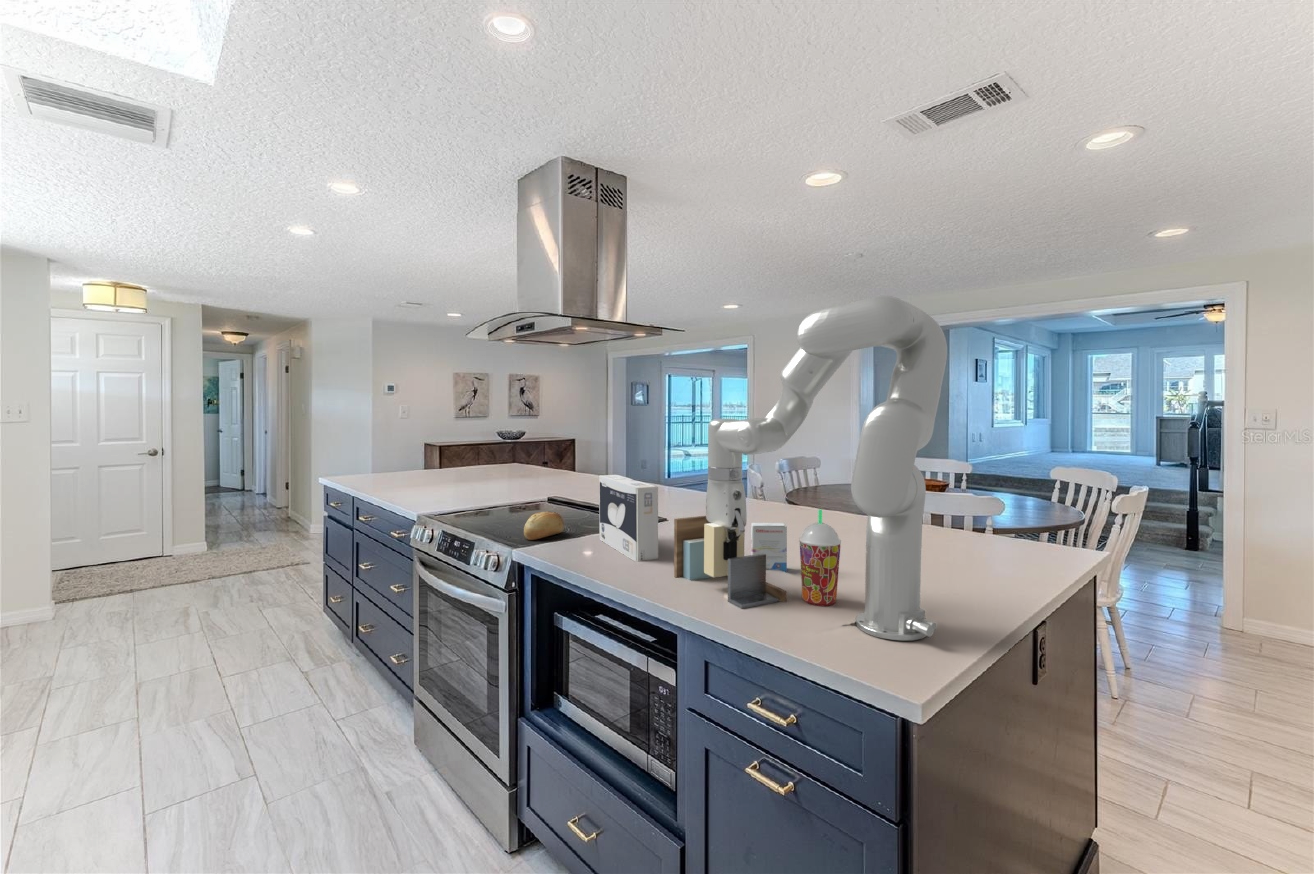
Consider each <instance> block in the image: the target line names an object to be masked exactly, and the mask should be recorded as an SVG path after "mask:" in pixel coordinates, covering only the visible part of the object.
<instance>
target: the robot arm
mask: <svg viewBox="0 0 1314 874" xmlns="http://www.w3.org/2000/svg"><path fill="white" fill-rule="evenodd" d="M796 338H797V339H796V340H797V343H798V346H799V348H798V349H797V350H796V352H795V353H794V354H793V356H792V357H791V358H789V361H787V363H786V364H785V365H784V367H783V368H782V369H781V371H780V374H779V377H780V381H781V384H782V385H781V386H782V391H781V393H780V397H779V398H778V400H777V402H776V403H775V405H774V406H773V407H772V408H771V410H770V411H768V413H767V415H766V416H765V417H757V418H746V419H737V418H736V419H735V418H714V419H711V420H710V421H709V423H708V430H707V432H708V433H707V436H708V437H707V486H706V487H707V488H706V497H705V516H706V522H707V523H714V524H717V525H720V526H722V527H724V530H725V540H726V542H724V553H723V558H724V560H728V558H735V557H737V541H739V537H740V535H741V534H743V533H744V532H745V533H746V529H745V528H744V527H746V526H747V517H748V516H747V498H746V492H745V491H746V490H745V485H744V482H743V455H751V456H752V455H759V454H764V453H765V454H766V453H773V452H776V451H778V450H779V449H781V448H782V447H783V446H785V445H786V443H788V442H789V440H790V439H791V438H792V437H793V435H794V434H795V433H796V432H797V431H798V430H799V429H800V427H801V426H802V424H803V423H804V421H805V420H806V418H807V416H808V415H809V412H810V410H811V408H812V406H813V403H814V400H815V398H816V396H817V395H818V394H819V393H820V392H821V390H822V389H823V388H824V387H825V386H826V384H827V383H828V381H829V380H830V379H831V378H832V376H834V374H835V373H836V372H837V370H838V369H839V368H841V366H842V365H843V363H844V362H845V361H846V360H847V358H848V357H849V356H850V355H851V353H853V351H857V350H862V349H868V348H873V347H883V348H886V349H891V350H893V351H894V352H895V353H896V361H895V364H894V367H893V368H892V373H891V376H890V382H889V388H888V392H887V397H886V401H883V402H881V403H878V404H877V405H876V406H875V407H873V408H872V409H871V410H870V411H869V413H868V414H867V416H866V417H865V419H864V422H863V424H862V428H861V432H860V436H859V440H858V445H857V451H856V454H855V461H854V466H853V471H852V474H851V475H852V476H851V483H850V484H851V485H850V489H851V491H850V492H851V496H852V500H853V501H854V503H855V505H856V506H857V508H858V509H859V510H860V511H861V512H863V514H865V515H867V520H866V531H865V533H866V534H865V569H864V570H865V573H864V574H865V575H864V576H865V577H864V578H865V579H864V612H861V613H859V614H857V616H856V618H855V624H856V626H857V628H858V629H859V630H860V631H862V632H864V633H865V634H868V635H871V636H873V637H876V638H881V639H886V640H891V641H901V642H903V641H904V642H905V641H908V642H910V641H917V640H922V639H924V638H926V637H928V638H929V637H931V636H933V634H934V633H935V630H936V629H937V627H938V626H937V622H935V621H932V620H930V619H926V609H923V608H921V582H922V581H921V576H922V573H921V572H922V568H921V567H922V547H923V545H922V543H923V542H922V540H923V539H922V538H923V537H922V536H923V534H922V533H923V522H924V511H925V503H926V493H927V489H926V481H925V477H924V475H923V473H922V472H921V470H920V469H919V468H918V467H917V466H916V465H915V462H916V459H917V457H916V456H917V454H918V451H920V450H921V449H923V448H925V446H927V445H928V444H929V442H930V441H931V439H932V436H933V433H934V428H935V422H936V415H937V412H938V407H939V401H940V399H941V392H942V384H943V380H944V376H945V370H946V365H947V357H948V344H947V338H946V336H945V333H944V331H943V329H942V327H941V326H940V324H939V322H937V321H936V320H935V319H934V317H932V316H931V315H930V314H929V313H927V312H925V311H924V310H922V309H921V308H919V307H917V306H915V305H913V304H911V303H910V302H907V301H905V300H902V299H900V298H897V297H895V296H892V295H876V296H872V297H866V298H861V299H859V300H855V301H852V302H851V301H850V302H846V303H843V304H842V303H841V304H838V305H833V306H829V307H825V308H821V309H817V310H815V311H812V312H811V313H809V314H807V315H806V316H805V318H803V319H802V321H801V322H800V324H799V326H798V328H797V332H796ZM732 524H733V527H731V526H732ZM730 530H733V531H732V532H731V534H730Z"/></svg>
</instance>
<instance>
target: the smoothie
mask: <svg viewBox="0 0 1314 874" xmlns="http://www.w3.org/2000/svg"><path fill="white" fill-rule="evenodd" d="M822 514H823V509H818V522H814V523H812V524H810V525H807V527H806V528H805V529H804V530H803V532H802V534H801V536H800V537H799V538H798V542H799V555H800V579H801V593H802V594H801V597H802V599H803V600H804V601H805V602H804V603H807V604H808V605H812V606H818V607H828V606H829V607H830V606H831V605H832V606H833V605H834V603H836V601H837V596H838V595H837V594H838V581H839V569H840V560H841V559H840V556H841V544H842V540H841V539H840V538H839V535H838V533H837V532H836V531H837V530H835V528H834V527H832V526H831V525H829V524H828V523H825V522H823V515H822Z"/></svg>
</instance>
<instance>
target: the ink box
mask: <svg viewBox="0 0 1314 874" xmlns="http://www.w3.org/2000/svg"><path fill="white" fill-rule="evenodd" d="M750 525H751V526H750V527H751V528H750V555H756V554H766V570H779V571H781V572H784V573H787V571H788V566H787V564H788V561H787V558H788V553H787V552H788V549H787V548H788V537H787V536H788V530H787V529H788V528H787V525H786V524H785V523H783V522H751V523H750Z"/></svg>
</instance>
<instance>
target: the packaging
mask: <svg viewBox="0 0 1314 874" xmlns="http://www.w3.org/2000/svg"><path fill="white" fill-rule="evenodd" d="M598 488H599V489H598V495H599V496H598V497H599V500H598V507H599V510H598V513H599V515H598V517H599V519H598V520H599V529H598V531H599V540H600V542H602V541H603V544H606V545H607V546H609V547H610V548H612V549H614V550H615V549H616V551H617V552H619V553H621V554H622V555H623V554H624V555H623V556H625V557H627V558H628V559H630V560H632V561H633V562H635V563H637V562H645V561H651V560H652V561H653V560H658V559H659V487H658V486H656V485H652V484H650V483H647V482H643V481H641V480H640V481H639V480H634V479H633V478H629V477H626V476H623V475H619V474H605V475H604V474H603V475H599V476H598Z"/></svg>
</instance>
